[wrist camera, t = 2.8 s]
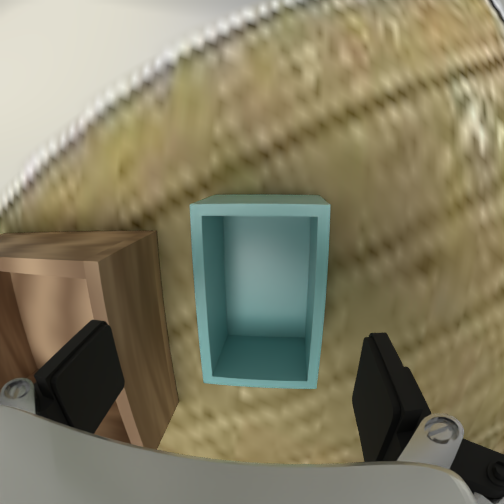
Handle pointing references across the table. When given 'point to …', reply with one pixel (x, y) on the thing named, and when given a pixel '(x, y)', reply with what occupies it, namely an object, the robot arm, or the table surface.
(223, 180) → the table surface
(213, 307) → the small crate
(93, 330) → the robot arm
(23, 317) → the big crate
